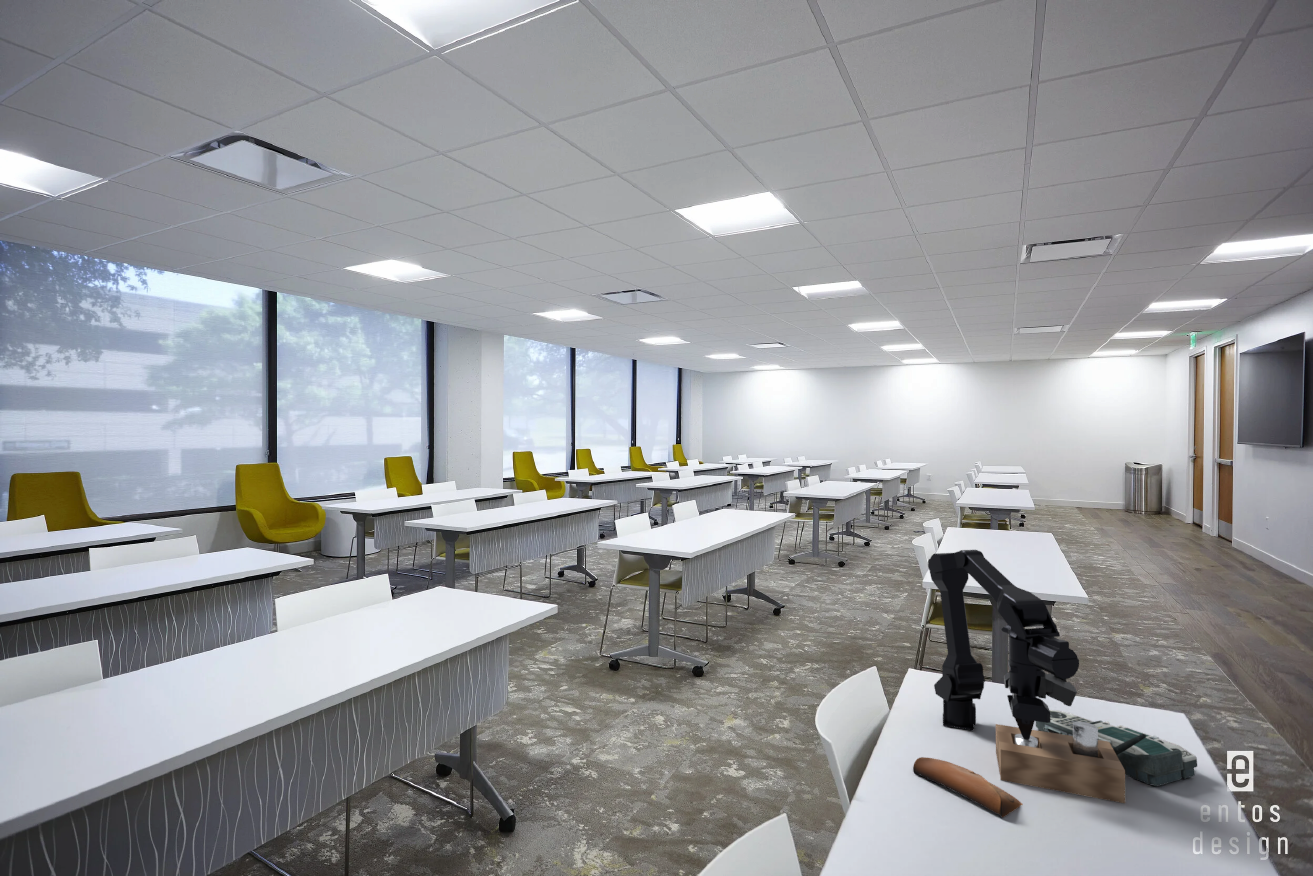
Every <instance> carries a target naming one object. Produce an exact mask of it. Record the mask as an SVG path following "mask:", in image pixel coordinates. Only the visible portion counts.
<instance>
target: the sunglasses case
mask: <svg viewBox="0 0 1313 876" xmlns="http://www.w3.org/2000/svg"><path fill="white" fill-rule="evenodd" d="M912 772H913V773H914V774H916V775H918V776H921V777H922V778H925V779H928V780H929V781H932V782H934V783H936V784H939V785H941V786H944V787H945V788H947V789H949V790H951V791H952V792H955V794H956V793H957V794H959V795H961V796H964V797H965V798H967V799H968V800H970V801H971V802H974V803H976V804H978V805H980V806H982V807H984V808H986V809H987V810H990V811H992V812H993V813H995V814H997V815H999V816H1000V817H1001V818H1004V817H1006V816H1008V815H1009V814H1011V813H1013V812H1014V811H1015V810H1017V809H1018V808H1020V807H1021V806H1023V803H1022V802H1021V801H1020V800H1019V799H1018V798H1016V797H1015V796H1013V795H1012V794H1011V793H1009V792H1008V791H1005V790H1004V789H1002V788H1000V787H999V786H997V785H995V784H993V783H991V782H989V781H988V780H987V779H985V777H983V775H981V774H979V773H976V772H975V771H973V770H970V769H968V768H965V767H963V766H960V765H959V764H955V763H954V762H950V761H946V760H943V759H939V758H935V757H924V756H921V757H917V759H916V760H915V762H914V763H913V766H912Z"/></svg>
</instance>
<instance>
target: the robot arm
mask: <svg viewBox="0 0 1313 876" xmlns="http://www.w3.org/2000/svg"><path fill="white" fill-rule="evenodd" d="M927 567H928V570H929V574H930V579H931V582H933V584H934V585H935V586H936V588H937V589H938V590H939V592H940V602H941V610H942V618H943V625H944V632H945V642H946V648H947V649H946V651H947V655H946V657H945V659H944V661H943V662H942V663H943V664H942V665H941V671H942V676H941V677H940V678H939V679H938V680H937V681H936V682H935V683H934V685H933V688H934V692H935V695H936V696H938V697H939V698H941V699H942V700H943V701H942V705H943V707H942V708H943V709H942V710H943V712H942V726H944V727H949V728H956V729H961V730H967V731H975V726H976V725H977V714H976V713H977V709H976V708H977V707H976V703H975V702H974V701H973V700H981V697H982V693H983V690H984V689H985V682H986V680H985V677H984V676H985V675H984V666H983V664H982V663H981V662H977V660H976V659H975V658H974V656H973V655H972V651H971V643H970V635H969V627H968V619H967V613H966V606H965V605H966V604H965V598H964V597H965V596H964V589H965V587H966V585H967V583H968V581H969V575H970V577H972V579H973V580H974V581H976V582H977V583H978V584H979V586H981V588H982V589H983V590H984V591H986V593H987V594H988V595H989V596H991V598H992V599H994V601H995V603H996V609H997V612H998V614H999V615H1000V616H1001V617H1002V619H1003V620H1004V622H1005V623H1006V625H1004V626H1002V627H1001V628H1000V629H1001V632H1002V633H1005V634H1007V635H1008V659H1007V665H1008V672H1006V674H1004V675H1003V684H1004V689H1008V690H1009V691H1010V694H1007V695H1006V696H1007V700H1008V704H1009V705H1008V706H1009V708H1010V710H1011V711H1010V712H1011V715H1012V718H1014V720H1015V722H1016V724H1017V727H1018V728H1019V729H1020V732H1021V734H1022V737H1023V738H1024V739H1030V735H1031V732H1032V730H1033V727H1034V724H1035V723H1036V722H1035V721H1038V722H1045V723H1049V722H1051V721H1050V710H1051V709H1050V708H1049V705H1048V704H1047V703H1046V702H1045V701H1043V700H1044V699H1045V700H1046V699H1047V697H1050V698H1052V699H1054V700H1056V701H1058V702H1060V703H1063V705H1064V706H1067V707H1072V705H1073V702H1074V700H1075V697H1076V696H1077V693H1078V691H1077V689H1076V687H1075V685H1074V684H1072V683H1071V682H1070V681H1067V680H1068V679H1070V678H1073V677H1074V676H1075V675H1076V673H1077V672H1078V670H1079V667H1080V659H1079V658H1078V655H1077V653H1076V652H1075V651H1074V650H1073V649H1071V648H1070V643H1069V641H1068V640H1065V639H1060V636H1061V634H1060V632H1059V630H1058V626H1057V625H1056V623H1055V622H1054V619H1053V618H1052V616H1051V614H1050V612H1049V610H1048V608H1047V605H1046V604H1045V602H1044V601H1043V599H1041V598H1039V597H1038V596H1037V595H1035V594H1033V593H1032V592H1030V591H1028V590H1026V589H1022V588H1020V587H1017V586H1016V585H1015V584H1014V583H1013V582H1011V581H1010V580H1009V579H1008V578H1007V577H1006V576H1005V575H1004V574H1003V573H1002V572H1000V570H998V569H997V568H996V567H995V566H994V565H993V564H992V563H991V562H990V561H989V560H988V559H987V558H986V557H985V556H984V554H983V552H982V551H980V550H978V549H962V550H959V551H956V552H940V553H939V552H938V553H933V554H932V555H931V556H930V558H929V559H928V562H927ZM1031 627H1032V628H1031ZM1033 627H1036V628H1033ZM1057 637H1059V638H1057ZM1046 672H1047V673H1046Z"/></svg>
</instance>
